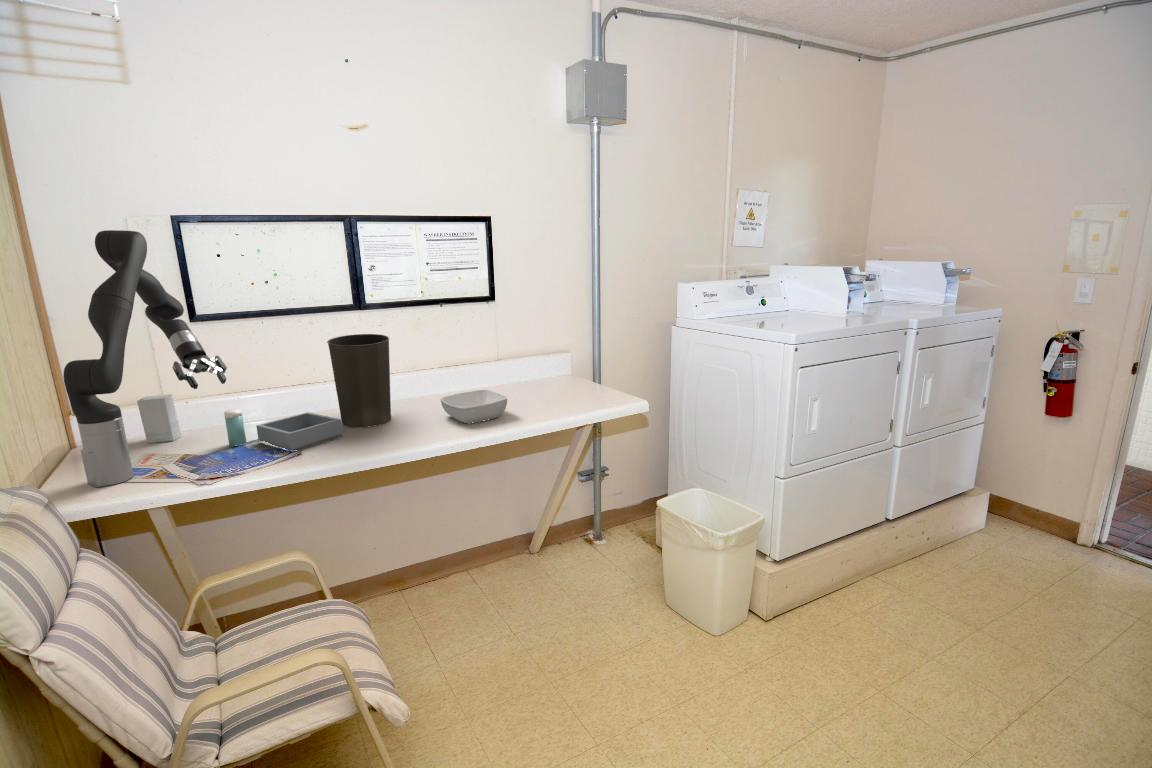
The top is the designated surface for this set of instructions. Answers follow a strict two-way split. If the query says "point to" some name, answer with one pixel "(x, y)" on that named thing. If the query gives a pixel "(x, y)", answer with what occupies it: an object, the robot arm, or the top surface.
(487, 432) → the top surface
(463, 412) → the square bowl
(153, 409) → the skincare box
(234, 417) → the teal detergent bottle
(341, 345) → the waste basket
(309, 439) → the slate bin
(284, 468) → the top surface
